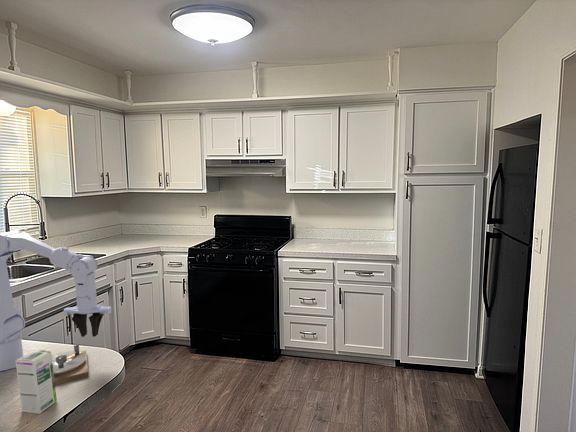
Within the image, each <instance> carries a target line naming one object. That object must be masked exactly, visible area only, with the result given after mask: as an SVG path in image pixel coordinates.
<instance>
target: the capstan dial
mask: <svg viewBox="0 0 576 432" xmlns="http://www.w3.org/2000/svg"><path fill="white" fill-rule="evenodd" d="M84 362H85V354H84V353H82V352H81V351H80V345H79V344H77V343H75V344H74V345H73V350H72V351H71V350H69V351H63V352H59V353H56V354H52V363H53V372H54V376H56V375H61V374H65V373H68V372H71V371H73V370H75V369H77V368H79V367H80V366H82V365H83V364H84Z"/></svg>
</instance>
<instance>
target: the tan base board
mask: <svg viewBox="0 0 576 432" xmlns="http://www.w3.org/2000/svg"><path fill="white" fill-rule="evenodd" d="M80 352H82V353H84V354H85V362H84V364H83V365H82V366H80V367H79V368H77V369H75V370H73V371H71V372H68V373H65V374H61V375H56V376H54V380H55V386H56V385H60V384H64V383H68V382H72V381H76V380H80V379H84V378H88V377H89V366H88V356H87V355H88V354H87V349H86V350H81V351H80Z"/></svg>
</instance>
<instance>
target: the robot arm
mask: <svg viewBox="0 0 576 432" xmlns="http://www.w3.org/2000/svg"><path fill="white" fill-rule="evenodd" d="M23 250H24V251H28V252H31V253H33V254H36V255H39V256H42V257H43V258H48V259H49V262H50V264H52V265H54V266H56V267H58V268H61V269H64V270H65V271H68V272H69V273H70V275H71V276H72V277H73V279H74V285H75V286H74V287H75V296H76V306H72V307H66V308H64V309H63V316H68V315H73V316H72V317H71V321H72V322H73V323H74V324H75V325H76V327H77V329H78V330H79V333H80V336H81V338H84V337H86V336H87V335H88V327H87V319H88V320H89V323H90V326H91V335H92V337H95V338H96V336H97V335H99V328H100V325H101V322H102V319H103V317H104V315H110V314H112V306H106V305H98V298H97V297H98V295H97V286H96V276H95V275H96V273H95V272H96V270H97V269H98V261H97V259H95V258H94V257H92V255H84V256H83V254H82V253H76V252H74V251H72V250H69V248H68V247H66V246H63V247H62V246H61V247H57V248H55V247H53V246H52V245H51V246H50V245H49V244H47V243H44V242H42V241H40V240H38V239H37V238H34V237H32V236H31V235H30V234H29V233H27V232H24V231H22V230H20V229H14V230H10V231H6V232H1V233H0V372H2V371H6V370H11V369H12V370H13V369H16V360H17V359H20V358H21V357H23V356H25V355H27V354H28V353H24V351H23V349H24V348H23V342H22V341H23V339H22V335H23V330H24V328H26V321H25V318H24V317H23V316H22V313H21V310H20V309H19V308H16V307H15V305H14V298H13V295H12V294H13V293H12V289H11V282H10V276H9V272H8V265H7V260H8V259H9V258H10V257H11V256H12V255H13V254H14V253H16V252H17V251H23ZM88 315H90V316H89V317H88Z"/></svg>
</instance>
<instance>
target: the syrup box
mask: <svg viewBox="0 0 576 432" xmlns="http://www.w3.org/2000/svg"><path fill="white" fill-rule="evenodd" d="M26 354H27V355H25V356H23V357H21V358H20V359H17V360H16V368H15V369H16V375H17V382H18V390H19V399H20V400H19V401H20V406H21V407H20V408H21V412H23V413H26V414H27V413H28V414H35V415H36V414H37V415H40V414H42V413H43V412H44V411H45V410H47V409H48V408H49V407H51V406H52V405H53V404H55V403H56V402H57V401H58V400H57V392H56V385H55V380H54V372H53V363H52V355H53V354H52V351H51V350H45V349H40V350H39V349H37V350H35V349H34V350H32V351H30V352H29V353H26Z"/></svg>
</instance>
